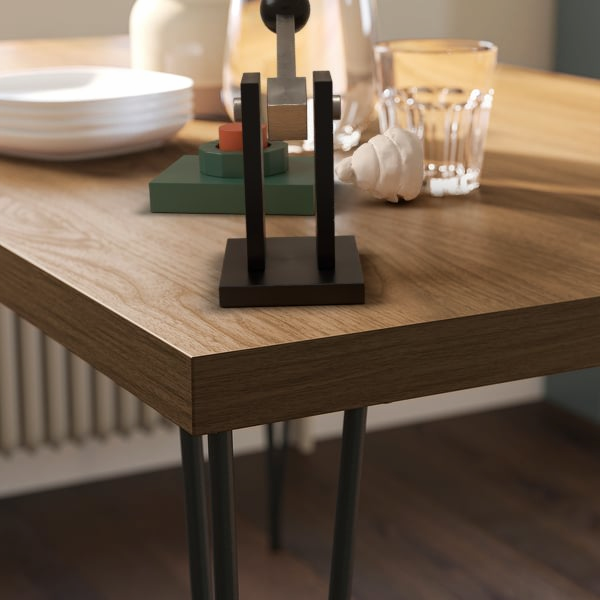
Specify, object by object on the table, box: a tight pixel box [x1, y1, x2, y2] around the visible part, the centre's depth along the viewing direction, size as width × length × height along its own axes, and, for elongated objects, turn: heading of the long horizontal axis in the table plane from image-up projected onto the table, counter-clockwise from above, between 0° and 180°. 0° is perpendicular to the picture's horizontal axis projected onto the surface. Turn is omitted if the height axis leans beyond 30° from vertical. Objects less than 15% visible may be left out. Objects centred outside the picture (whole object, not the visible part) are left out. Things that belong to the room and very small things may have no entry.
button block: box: [148, 137, 315, 216], centre depth 89 cm, size 12×10×4 cm
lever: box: [259, 0, 311, 142], centre depth 70 cm, size 14×3×3 cm, turn 1°
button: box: [218, 122, 268, 151], centre depth 88 cm, size 4×4×2 cm
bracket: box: [218, 70, 366, 308], centre depth 67 cm, size 10×8×12 cm
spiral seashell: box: [334, 126, 425, 203], centre depth 86 cm, size 6×6×5 cm
